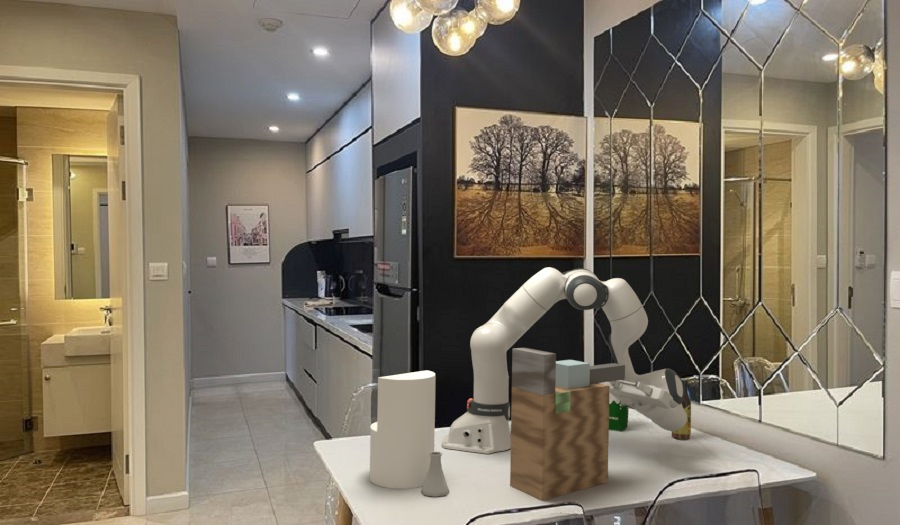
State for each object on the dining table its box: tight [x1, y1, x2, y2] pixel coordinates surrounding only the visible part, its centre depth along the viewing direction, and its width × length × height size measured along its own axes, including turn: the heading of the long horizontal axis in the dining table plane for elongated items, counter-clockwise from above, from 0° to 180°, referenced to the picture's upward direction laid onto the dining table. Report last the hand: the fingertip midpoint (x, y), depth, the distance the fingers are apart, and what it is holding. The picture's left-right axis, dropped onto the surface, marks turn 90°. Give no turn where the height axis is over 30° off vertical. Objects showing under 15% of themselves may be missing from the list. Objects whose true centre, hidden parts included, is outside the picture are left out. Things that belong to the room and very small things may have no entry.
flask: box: [420, 450, 450, 498], centre depth 164 cm, size 7×7×10 cm
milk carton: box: [601, 382, 630, 432], centre depth 230 cm, size 9×9×20 cm
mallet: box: [555, 359, 625, 389], centre depth 177 cm, size 24×7×6 cm, turn 125°
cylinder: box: [369, 370, 436, 490], centre depth 175 cm, size 17×17×28 cm
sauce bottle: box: [670, 377, 692, 441], centre depth 219 cm, size 7×6×20 cm
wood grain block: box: [509, 347, 610, 501], centre depth 171 cm, size 24×13×36 cm, turn 125°
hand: (623, 381), depth 185 cm, fingers open, 8 cm apart
